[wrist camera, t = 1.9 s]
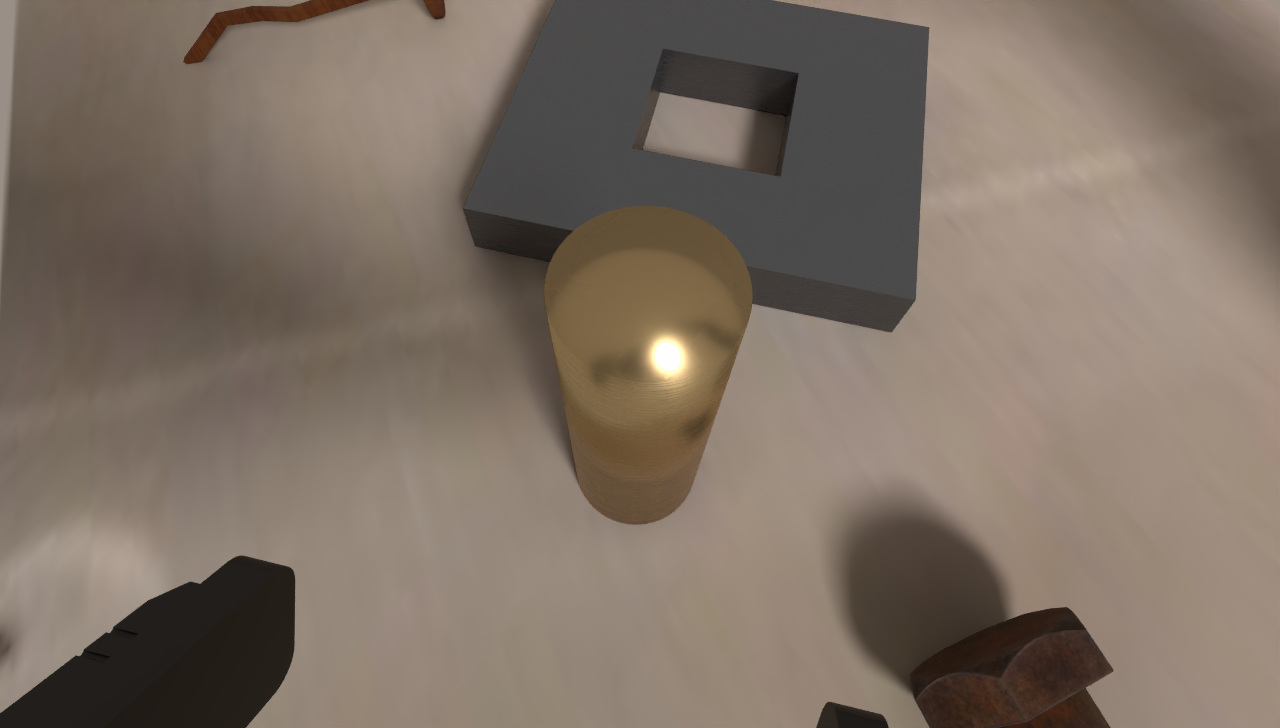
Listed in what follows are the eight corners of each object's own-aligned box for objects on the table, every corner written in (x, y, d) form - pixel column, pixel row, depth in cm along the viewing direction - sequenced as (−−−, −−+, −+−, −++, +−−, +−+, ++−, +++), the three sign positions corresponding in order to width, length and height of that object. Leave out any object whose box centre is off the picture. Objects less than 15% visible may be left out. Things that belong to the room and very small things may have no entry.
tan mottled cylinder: (704, 424, 26) (766, 226, 15) (682, 537, 24) (734, 403, 13) (593, 399, 26) (575, 189, 15) (562, 508, 24) (516, 355, 13)
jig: (909, 70, 35) (929, 27, 33) (891, 332, 28) (915, 300, 26) (573, 11, 36) (570, -35, 34) (475, 246, 29) (463, 208, 27)
